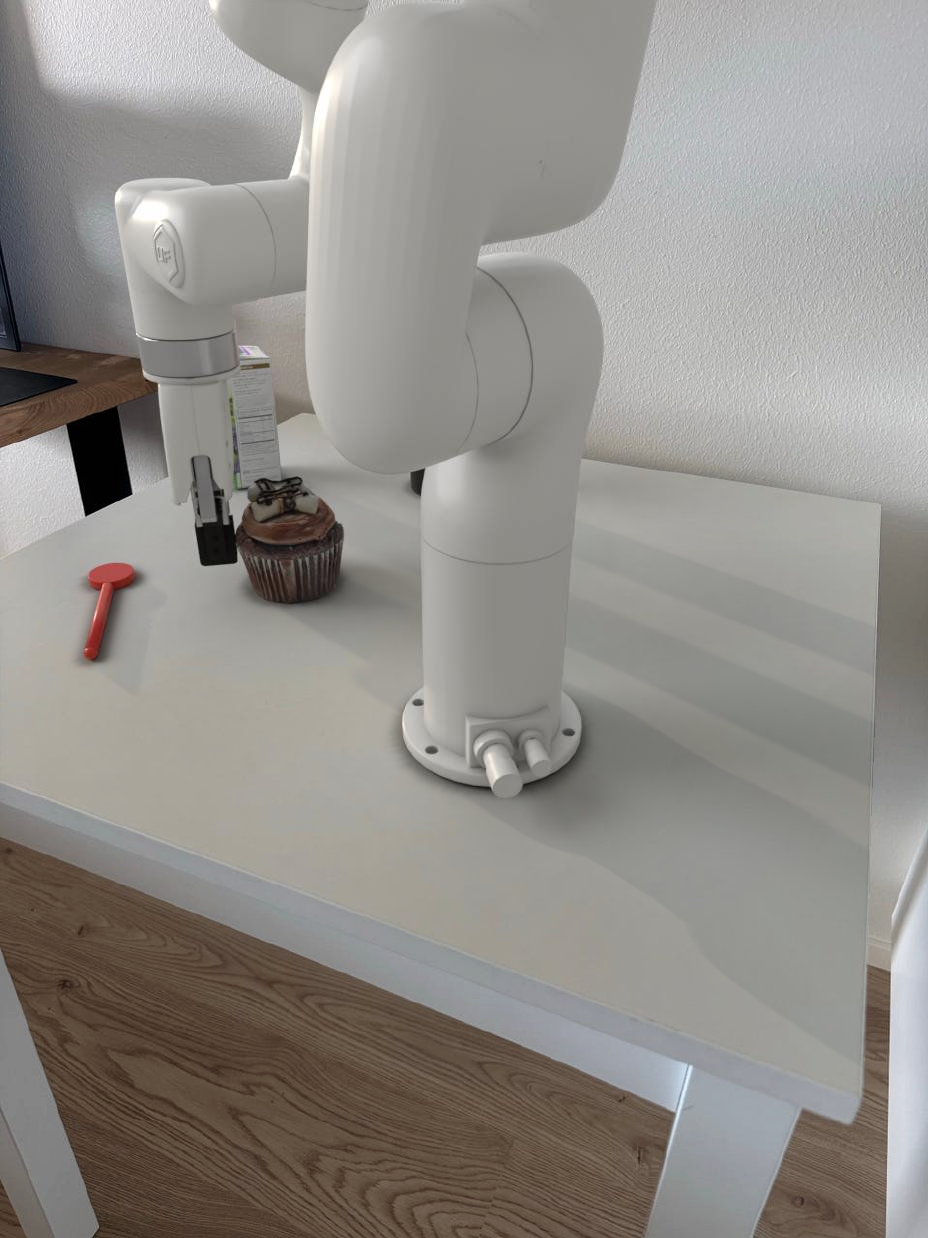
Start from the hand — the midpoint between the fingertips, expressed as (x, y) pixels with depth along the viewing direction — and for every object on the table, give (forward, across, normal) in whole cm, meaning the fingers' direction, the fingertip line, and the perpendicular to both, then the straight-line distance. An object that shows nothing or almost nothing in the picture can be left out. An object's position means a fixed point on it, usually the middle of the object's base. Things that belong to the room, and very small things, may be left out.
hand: (219, 560), depth 81 cm
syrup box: (+3, -27, +3) cm, 27 cm away
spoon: (+3, +1, -10) cm, 11 cm away
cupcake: (+3, 0, +6) cm, 7 cm away
